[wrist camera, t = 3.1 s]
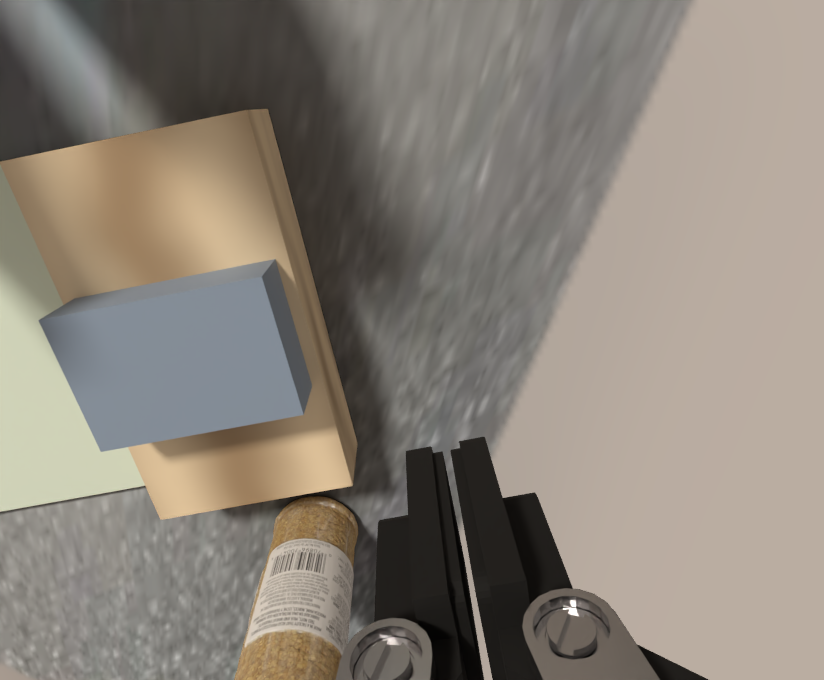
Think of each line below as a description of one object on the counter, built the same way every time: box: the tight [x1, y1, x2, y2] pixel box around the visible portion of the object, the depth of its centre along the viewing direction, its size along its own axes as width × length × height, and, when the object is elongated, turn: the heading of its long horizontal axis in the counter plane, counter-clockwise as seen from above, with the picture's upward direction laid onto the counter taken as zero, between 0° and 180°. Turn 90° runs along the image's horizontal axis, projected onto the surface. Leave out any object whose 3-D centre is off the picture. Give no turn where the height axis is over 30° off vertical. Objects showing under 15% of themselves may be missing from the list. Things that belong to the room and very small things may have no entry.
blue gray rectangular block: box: [38, 259, 312, 452], centre depth 22 cm, size 8×6×2 cm
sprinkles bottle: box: [234, 496, 358, 680], centre depth 25 cm, size 5×5×14 cm
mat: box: [0, 165, 145, 512], centre depth 26 cm, size 11×16×1 cm
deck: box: [0, 109, 357, 520], centre depth 25 cm, size 9×16×4 cm, turn 11°
